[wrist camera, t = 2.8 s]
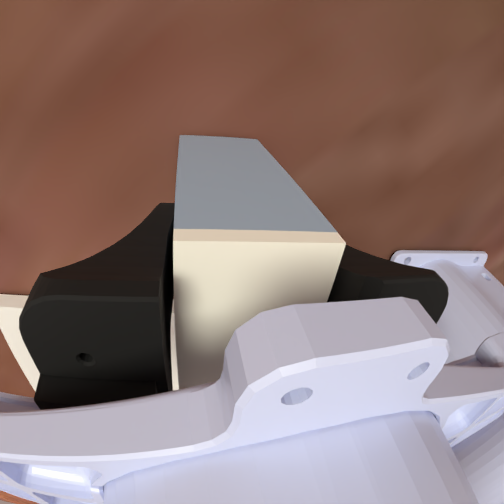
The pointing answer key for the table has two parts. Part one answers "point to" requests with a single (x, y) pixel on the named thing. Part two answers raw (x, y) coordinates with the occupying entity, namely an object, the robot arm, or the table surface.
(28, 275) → the table surface
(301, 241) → the block
